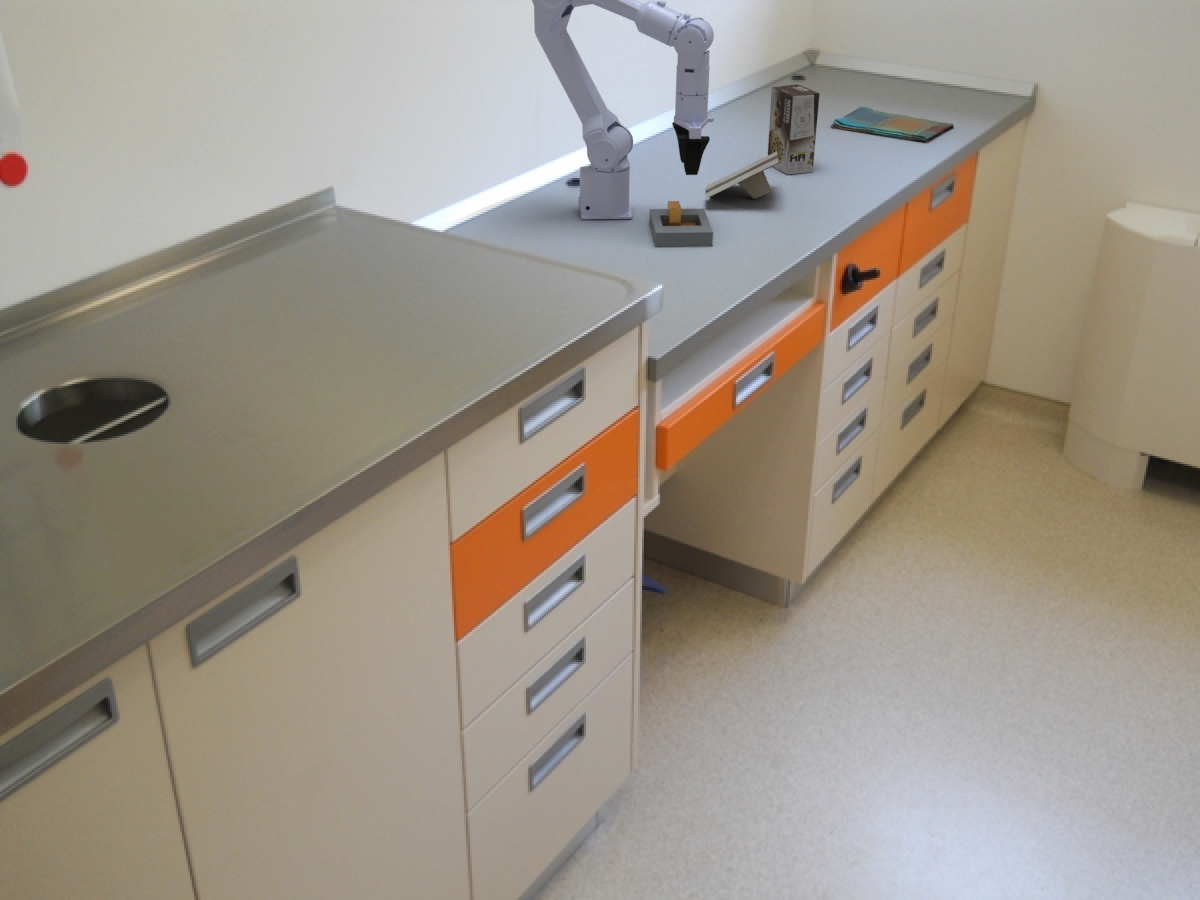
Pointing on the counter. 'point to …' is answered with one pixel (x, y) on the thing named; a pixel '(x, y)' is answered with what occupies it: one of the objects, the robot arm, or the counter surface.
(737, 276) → the counter surface
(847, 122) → the dish towel
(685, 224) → the wooden step block
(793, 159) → the coffee box
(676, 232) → the well block
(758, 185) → the beige footed plank
